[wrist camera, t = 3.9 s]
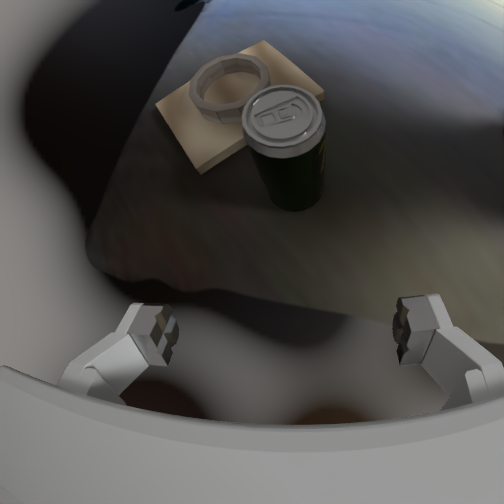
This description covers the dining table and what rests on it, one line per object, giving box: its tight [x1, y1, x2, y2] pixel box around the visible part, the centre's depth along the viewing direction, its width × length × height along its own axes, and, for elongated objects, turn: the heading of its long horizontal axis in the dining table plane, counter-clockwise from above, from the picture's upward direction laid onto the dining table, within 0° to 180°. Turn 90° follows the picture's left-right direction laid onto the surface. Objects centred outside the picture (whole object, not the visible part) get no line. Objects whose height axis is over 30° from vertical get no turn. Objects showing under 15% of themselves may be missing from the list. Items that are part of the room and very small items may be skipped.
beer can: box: [242, 85, 326, 211], centre depth 23 cm, size 5×5×12 cm
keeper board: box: [156, 40, 325, 175], centre depth 30 cm, size 16×12×4 cm
